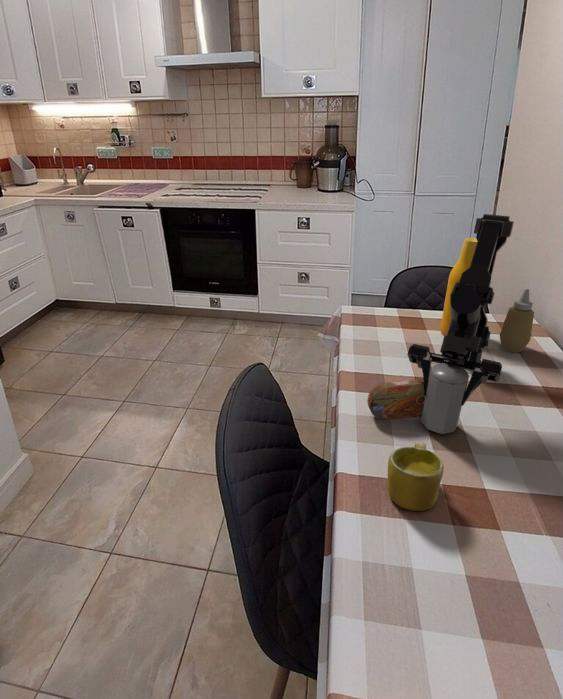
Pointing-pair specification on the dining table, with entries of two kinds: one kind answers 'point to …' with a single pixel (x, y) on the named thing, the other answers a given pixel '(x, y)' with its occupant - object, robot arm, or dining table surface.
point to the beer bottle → (457, 279)
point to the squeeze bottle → (518, 324)
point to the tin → (397, 399)
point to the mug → (414, 477)
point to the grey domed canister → (444, 397)
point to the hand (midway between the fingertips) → (443, 400)
